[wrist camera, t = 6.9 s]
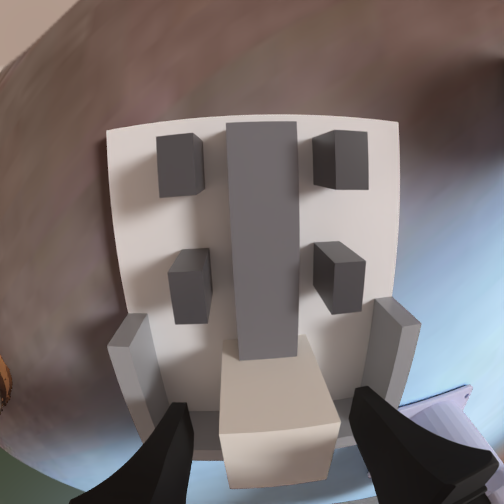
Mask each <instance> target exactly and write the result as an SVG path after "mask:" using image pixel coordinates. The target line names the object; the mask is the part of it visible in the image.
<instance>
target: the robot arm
mask: <svg viewBox="0 0 504 504" xmlns="http://www.w3.org/2000/svg"><path fill="white" fill-rule="evenodd" d="M472 390H473V387H472V386H471V385H470V384H469V385H466V386H464V387H461V388H458V389H456V390H453V391H450V392H448V393H445V394H442V395H439V396H436V397H433V398H430V399H427V400H424V401H421V402H417V403H414V404H411V405H407V406H404V407H400V408H398V410H397V409H395V408H394V407H393V406H391V405H390V404H389V403H388V402H387V401H385V400H384V399H383V398H382V397H381V396H379V395H378V394H377V393H376V392H375V391H374V390H372V389H371V388H370V387H369V386H363V387H358V388H355V391H354V396H353V401H352V405H351V410H350V414H349V418H348V419H349V423H350V427H351V430H352V433H353V437H354V439H355V442H356V444H357V446H358V448H359V451H360V453H361V455H362V457H363V460H364V462H365V464H366V466H367V469H368V471H369V472H368V477H369V478H372V481H373V485H374V488H375V492H376V495H377V499H378V503H379V504H504V464H503V462H502V461H501V460H500V458H499V457H498V456H497V454H496V453H495V451H494V450H493V449H492V447H491V446H490V445H489V444H488V442H487V441H486V440H485V438H484V437H483V436H482V434H481V433H480V432H479V431H478V429H477V428H476V427H475V425H474V424H473V423H472V422H471V420H470V419H469V418H468V417H467V415H466V414H465V413H464V412H463V409H464V407H465V405H466V403H467V401H468V399H469V396H470V394H471V392H472ZM193 451H194V430H193V426H192V422H191V418H190V414H189V410H188V406H187V402H172V403H171V404H170V406H169V408H168V409H167V411H166V413H165V414H164V416H163V418H162V419H161V421H160V422H159V424H158V425H157V427H156V428H155V429H154V431H153V432H152V434H151V435H150V436H149V438H148V439H147V440H146V441H145V443H144V444H143V445H142V446H141V447H140V449H139V450H138V451H137V452H136V453H135V454H134V455H133V456H132V457H131V458H130V459H129V460H128V461H127V462H126V463H125V464H124V465H123V466H122V467H121V468H120V469H119V470H117V471H116V472H115V473H114V474H113V475H111V476H110V477H109V478H107V479H106V480H105V481H103V482H102V483H100V484H99V485H97V486H96V487H94V488H92V489H91V490H89V491H87V492H85V493H83V494H82V495H80V496H78V497H76V498H74V499H71V500H70V502H69V504H186V494H187V488H188V482H189V476H190V470H191V464H192V458H193Z"/></svg>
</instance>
